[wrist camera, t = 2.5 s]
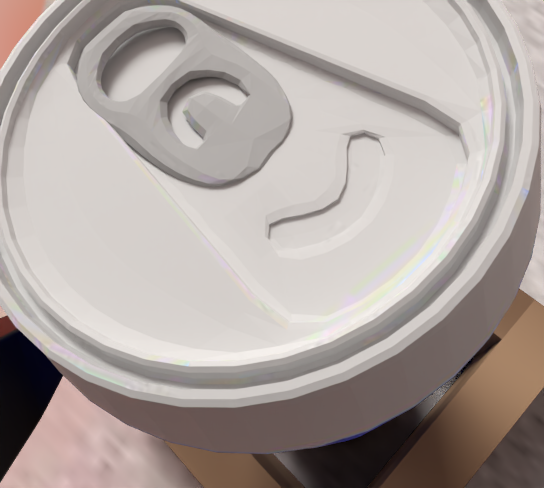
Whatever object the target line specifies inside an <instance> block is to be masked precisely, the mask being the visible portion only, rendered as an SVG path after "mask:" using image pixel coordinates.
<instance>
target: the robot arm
mask: <svg viewBox="0 0 544 488" xmlns="http://www.w3.org/2000/svg"><path fill="white" fill-rule="evenodd" d="M62 377H63V375H62V374H61V373H60V372H59V371H58V369H57V368H56V367H55V366H54V365H53V364H52V362H51V361H50V360H49V359H48V358H47V357H46V355H45V354H44V353H43V352H42V351H41V350H40V349H39V348H38V347H37V346H35V345H34V344H33V343H32V342H31V341H30V340H29V339H28V338H27V337H26V336H25V335H24V334H23V333H22V332H21V331H20V330H18V329H17V328H16V327H15V325H14V324H13V323H12V321H11V320H10V318H9V317H8V315H7V316H5V317H2V318H0V482H1V481H2V479H3V478H4V476H5V474H6V473H7V471H8V470H9V468H10V467H11V465H12V463H13V462H14V460H15V459H16V457H17V456H18V454H19V452H20V451H21V449H22V448H23V446H24V445H25V443H26V441H27V440H28V438H29V437H30V435H31V434H32V432H33V430H34V429H35V427H36V426H37V424H38V422H39V421H40V419H41V417H42V415H43V414H44V412H45V410H46V408H47V406H48V404H49V402H50V400H51V398H52V396H53V394H54V392H55V390H56V388H57V387H58V385H59V383H60V381H61V379H62Z"/></svg>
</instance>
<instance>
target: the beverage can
mask: <svg viewBox="0 0 544 488" xmlns="http://www.w3.org/2000/svg"><path fill="white" fill-rule="evenodd" d="M540 201H541V105H540V99H539V94H538V89H537V84H536V78H535V73H534V68H533V63H532V60H531V58H530V55H529V53H528V50H527V48H526V45H525V43H524V40H523V38H522V35H521V32H520V30H519V27H518V25H517V24H516V22H515V21H514V19H513V18H512V16H511V14H510V13H509V11H508V10H507V8H506V7H505V5H504V4H503V2H502V0H56V1H55V2H54V3H53V4H52V5H51V6H49V7H48V8H47V9H46V10H45V11H44V12H43V13H42V14H41V15H40V16H39V17H38V19H37V20H36V21H35V22H34V23H33V25H32V26H31V27H30V28H29V30H28V31H27V32H26V33H25V35H24V36H23V37H22V38H21V40H20V41H19V42H18V43H17V45H16V46H15V48H14V49H13V51H12V52H11V54H10V55H9V57H8V59H7V60H6V62H5V63H4V65H3V67H2V68H1V70H0V306H1V307H2V308H3V310H4V311H5V313H6V314H7V315H8V317H9V318H10V320H11V321H12V323H13V324H14V325H15V327H16V328H17V329H18V330H20V331H21V332H22V333H23V334H24V335H25V336H26V337H27V338H28V339H29V340H30V341H31V342H32V343H33V344H34V345H35V346H37V347H38V348H39V349H40V350H41V351H42V352H43V353H44V354H45V355H46V357H47V358H48V359H49V360H50V361H51V362H52V364H53V365H54V366H55V367H56V368H57V369H58V371H59V372H60V373H61V374H62V375H63V376H64V377H65V378H67V379H68V380H69V381H70V382H71V383H72V384H73V385H74V386H75V387H76V388H77V389H78V390H79V391H80V392H81V393H82V394H83V395H84V396H86V397H87V398H88V399H89V400H90V401H91V402H93V403H94V404H96V405H97V406H99V407H100V408H102V409H103V410H105V411H107V412H108V413H110V414H111V415H113V416H114V417H116V418H117V419H119V420H120V421H122V422H124V423H125V424H127V425H129V426H131V427H134V428H136V429H139V430H141V431H143V432H146V433H148V434H151V435H153V436H156V437H158V438H161V439H163V440H165V441H168V442H171V443H175V444H180V445H185V446H189V447H194V448H199V449H203V450H208V451H213V452H217V453H247V454H272V453H279V452H287V451H294V450H301V449H308V448H316V447H321V446H325V445H330V444H334V443H339V442H343V441H348V440H351V439H354V438H357V437H360V436H362V435H364V434H366V433H368V432H369V431H371V430H373V429H375V428H377V427H379V426H381V425H382V424H384V423H386V422H388V421H390V420H392V419H393V418H395V417H397V416H399V415H401V414H403V413H405V412H406V411H408V410H410V409H412V408H414V407H415V406H416V405H418V404H419V403H420V402H422V401H423V400H424V399H426V398H427V397H428V396H430V395H431V394H432V393H433V392H435V391H436V390H437V389H439V388H440V387H441V386H443V385H444V384H445V383H447V382H448V381H449V380H451V379H452V378H453V377H455V375H456V374H457V373H458V372H459V371H460V370H461V369H462V368H463V367H464V366H465V365H466V364H467V362H468V361H469V360H470V359H471V358H472V357H473V356H474V355H475V354H476V353H477V352H478V351H479V350H480V348H481V347H482V346H483V345H484V344H485V343H486V342H487V341H488V340H489V338H490V337H491V335H492V334H493V332H494V330H495V329H496V327H497V326H498V324H499V323H500V321H501V319H502V318H503V316H504V315H505V313H506V312H507V310H508V308H509V307H510V305H511V304H512V302H513V301H514V299H515V297H516V294H517V292H518V289H519V287H520V284H521V282H522V279H523V277H524V274H525V272H526V269H527V267H528V264H529V262H530V260H531V257H532V253H533V248H534V243H535V238H536V233H537V228H538V223H539V218H540Z"/></svg>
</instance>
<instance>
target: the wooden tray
mask: <svg viewBox="0 0 544 488" xmlns="http://www.w3.org/2000/svg"><path fill="white" fill-rule="evenodd" d="M473 357H474V359H473V361H472V362H471V363H470V364H469V365H468V367H467V368H466V369H465V370H464V371H463V373H462V374H461V375H460V376H459V377H458V379H457V380H456V381H455V382H454V383H453V385H452V386H451V387H450V388H449V389H448V391H447V392H446V393H445V394H444V395H443V397H442V398H441V399H440V400H439V401H438V403H437V404H436V405H435V406H434V407H433V409H432V410H431V411H430V412H429V413H428V415H427V416H426V417H425V418H424V419H423V421H422V422H421V423H420V424H419V425H418V427H417V428H416V429H415V430H414V431H413V433H412V434H411V435H410V436H409V437H408V439H407V440H406V441H405V442H404V443H403V445H402V446H401V447H400V448H399V449H398V451H397V452H396V453H395V454H394V455H393V457H392V458H391V459H390V460H389V461H388V463H387V464H386V465H385V466H384V467H383V469H382V470H381V471H380V472H379V473H378V475H377V476H376V477H375V478H374V479H373V481H372V482H371V483H370V484H369V486H368V487H367V488H464V487H465V486H466V484H467V483H468V482H469V481H470V479H471V478H472V477H473V476H474V474H475V473H476V472H477V471H478V469H479V468H480V467H481V465H482V464H483V463H484V462H485V460H486V459H487V458H488V457H489V455H490V454H491V453H492V452H493V450H494V449H495V448H496V447H497V445H498V444H499V443H500V442H501V440H502V439H503V438H504V437H505V435H506V434H507V433H508V431H509V430H510V429H511V428H512V426H513V425H514V424H515V423H516V421H517V420H518V419H519V418H520V416H521V415H522V414H523V413H524V411H525V410H526V409H527V408H528V406H529V405H530V404H531V402H532V401H533V400H534V399H535V397H536V396H537V395H538V394H539V392H540V391H541V390H542V389H543V387H544V306H543V305H541V304H540V303H539V302H537V301H536V300H534V299H533V298H532V297H530V296H529V295H528V294H526V293H525V292H523V291H522V290H521V289H518V292H517V294H516V297H515V299H514V301H513V302H512V304H511V305H510V307H509V308H508V310H507V312H506V313H505V315H504V316H503V318H502V319H501V321H500V323H499V324H498V326H497V327H496V329H495V330H494V332H493V334H492V335H491V337H490V338H489V340H488V341H487V342H486V343H485V344H484V345H483V346H482V347H481V348H480V350H479V351H478V352H477V353H476V354H475V355H474V356H473ZM164 441H165V440H164ZM165 442H166V444H167V445H168V446H169V447H170V448H171V450H172V451H173V452H174V453H175V454H176V455H177V457H178V458H179V459H180V460H181V461H182V462H183V464H184V465H185V466H186V467H187V468H188V469H189V471H190V472H191V473H192V474H193V475H194V476H195V478H196V479H197V480H198V481H199V482H200V484H201V485H202V486H203V487H204V488H305V487H304V486H303V485H302V484H301V483H300V482H299V481H298V480H297V479H296V478H295V476H294V475H293V474H292V473H291V472H290V471H289V470H288V469H287V468H286V467H285V466H284V465H283V464H282V463H281V462H280V461H279V459H278V458H277V457H276V456H275V455H274V454H273V453H272V454H247V453H217V452H213V451H208V450H203V449H199V448H194V447H189V446H185V445H180V444H175V443H171V442H168V441H165Z"/></svg>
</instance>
